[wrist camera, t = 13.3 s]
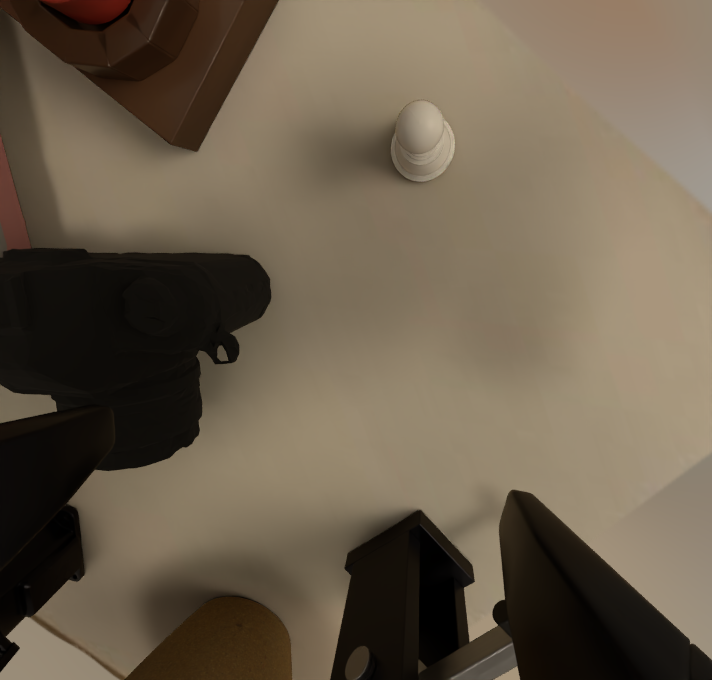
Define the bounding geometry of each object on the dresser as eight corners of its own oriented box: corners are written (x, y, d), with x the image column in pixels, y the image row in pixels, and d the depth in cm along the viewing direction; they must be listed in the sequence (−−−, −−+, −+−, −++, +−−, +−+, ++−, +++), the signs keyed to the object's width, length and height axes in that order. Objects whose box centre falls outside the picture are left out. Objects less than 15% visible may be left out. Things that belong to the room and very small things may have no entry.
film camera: (57, 403, 25) (-136, 491, 16) (25, 243, 22) (-222, 247, 14) (291, 423, 23) (209, 538, 14) (285, 245, 20) (179, 253, 12)
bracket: (414, 503, 24) (408, 685, 15) (478, 570, 25) (510, 785, 15) (342, 548, 26) (296, 734, 17) (402, 609, 26) (391, 821, 17)
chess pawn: (415, 195, 19) (412, 188, 14) (378, 144, 18) (363, 119, 14) (467, 153, 18) (482, 131, 13) (429, 98, 18) (432, 56, 13)
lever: (503, 580, 17) (521, 632, 15) (546, 626, 18) (570, 684, 15) (357, 671, 19) (353, 731, 17) (398, 711, 19) (400, 775, 17)
